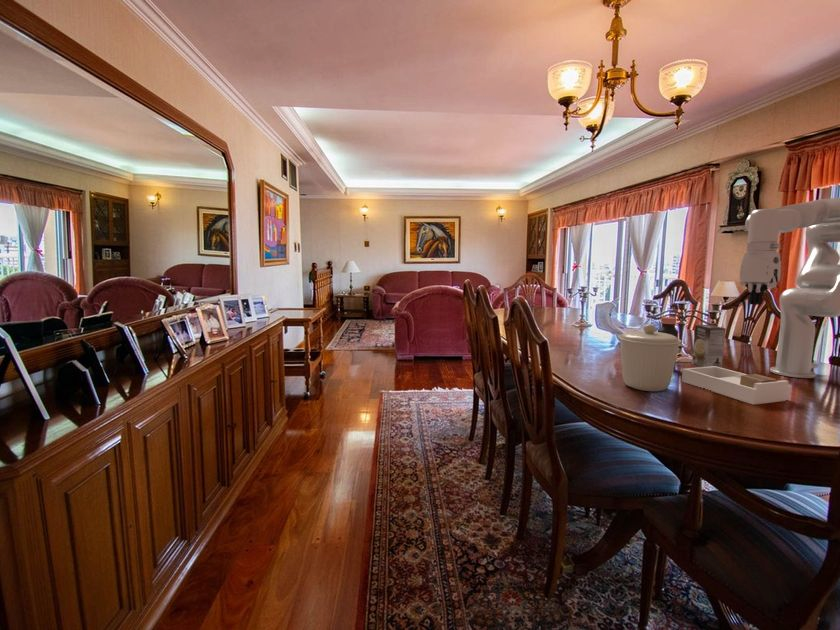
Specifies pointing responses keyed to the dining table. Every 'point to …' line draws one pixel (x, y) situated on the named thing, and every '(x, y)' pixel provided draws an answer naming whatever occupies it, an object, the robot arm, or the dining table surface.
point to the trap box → (736, 385)
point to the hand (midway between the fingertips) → (755, 304)
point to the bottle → (669, 327)
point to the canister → (648, 358)
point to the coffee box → (708, 346)
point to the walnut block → (754, 379)
